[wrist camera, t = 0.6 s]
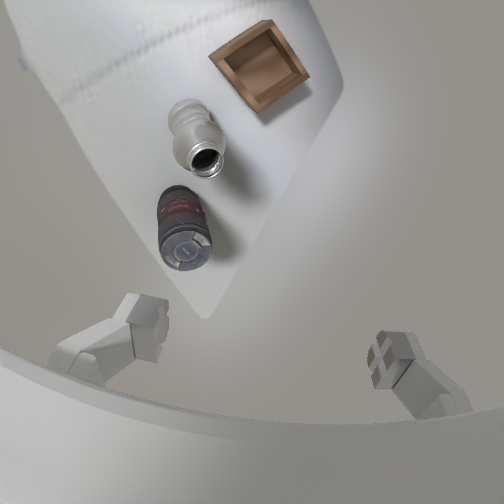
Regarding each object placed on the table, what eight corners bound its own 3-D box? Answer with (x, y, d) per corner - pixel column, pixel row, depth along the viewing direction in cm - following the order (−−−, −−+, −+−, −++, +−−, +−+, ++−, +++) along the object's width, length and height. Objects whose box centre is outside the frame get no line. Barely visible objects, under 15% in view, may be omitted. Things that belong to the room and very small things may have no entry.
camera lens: (176, 172, 51) (186, 220, 40) (207, 198, 56) (224, 248, 45) (146, 203, 53) (148, 256, 42) (177, 225, 58) (187, 280, 47)
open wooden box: (208, 56, 39) (213, 58, 36) (261, 20, 37) (271, 19, 33) (249, 106, 46) (257, 113, 43) (298, 72, 44) (310, 77, 41)
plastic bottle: (215, 108, 45) (250, 152, 31) (191, 140, 48) (213, 200, 33) (182, 88, 41) (200, 121, 27) (159, 123, 44) (163, 175, 30)
